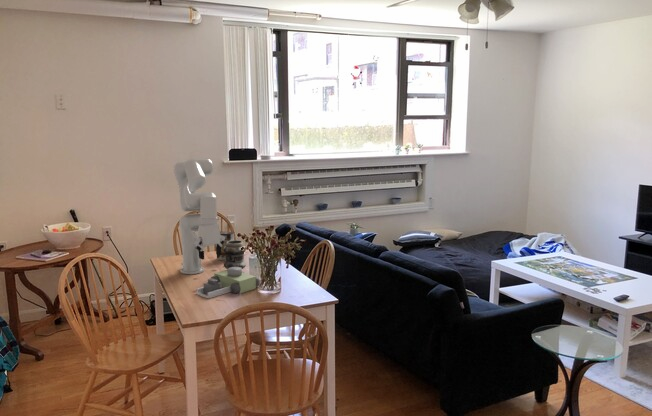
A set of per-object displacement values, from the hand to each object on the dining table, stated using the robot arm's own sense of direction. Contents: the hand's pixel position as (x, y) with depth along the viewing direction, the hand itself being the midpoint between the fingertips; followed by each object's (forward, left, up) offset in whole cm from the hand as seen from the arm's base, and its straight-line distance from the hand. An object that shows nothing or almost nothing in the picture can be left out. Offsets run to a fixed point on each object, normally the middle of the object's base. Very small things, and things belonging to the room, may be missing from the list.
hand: (210, 256), depth 242 cm
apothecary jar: (-16, +27, -18) cm, 36 cm away
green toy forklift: (0, +8, -18) cm, 20 cm away
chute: (0, 0, -18) cm, 18 cm away
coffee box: (-45, +43, -18) cm, 65 cm away
